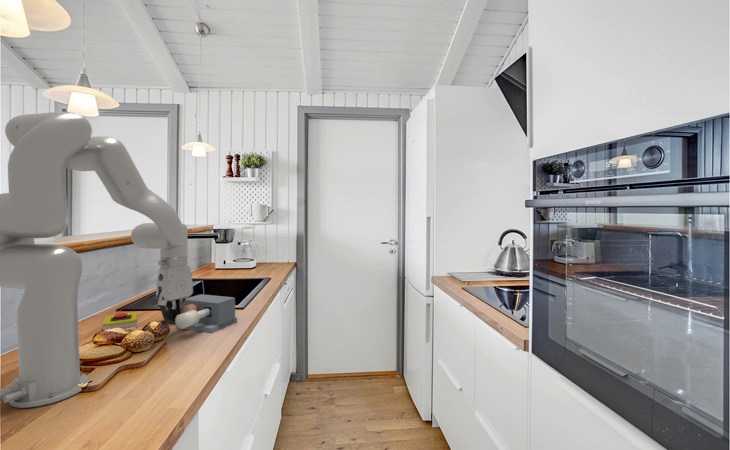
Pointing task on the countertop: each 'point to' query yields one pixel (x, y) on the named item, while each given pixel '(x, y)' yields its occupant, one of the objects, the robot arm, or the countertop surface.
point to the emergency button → (121, 320)
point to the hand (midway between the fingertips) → (174, 320)
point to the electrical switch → (166, 313)
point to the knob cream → (191, 317)
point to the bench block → (213, 312)
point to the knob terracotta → (188, 308)
